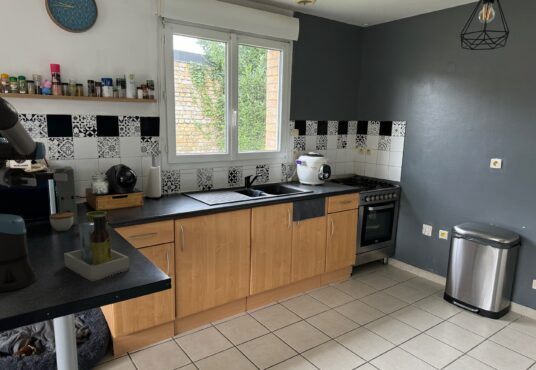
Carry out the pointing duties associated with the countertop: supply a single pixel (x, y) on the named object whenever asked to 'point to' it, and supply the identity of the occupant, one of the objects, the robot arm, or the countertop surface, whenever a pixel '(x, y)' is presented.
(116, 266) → the tray
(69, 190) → the device
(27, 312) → the countertop surface
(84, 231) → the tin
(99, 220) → the sauce bottle
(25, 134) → the robot arm
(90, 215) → the plant pot
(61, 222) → the lidded jar
